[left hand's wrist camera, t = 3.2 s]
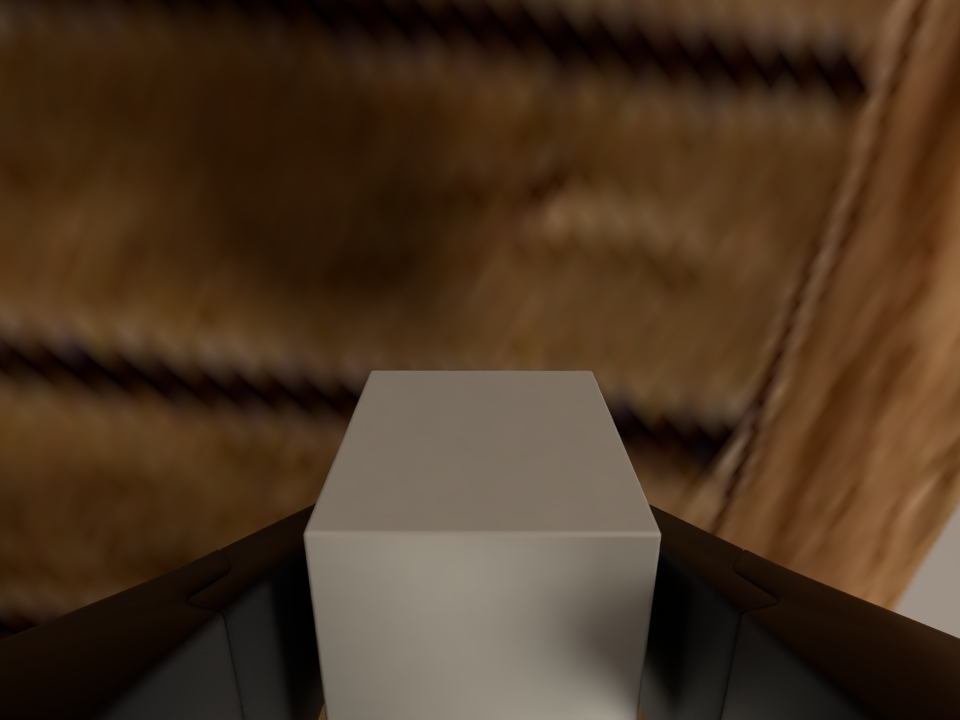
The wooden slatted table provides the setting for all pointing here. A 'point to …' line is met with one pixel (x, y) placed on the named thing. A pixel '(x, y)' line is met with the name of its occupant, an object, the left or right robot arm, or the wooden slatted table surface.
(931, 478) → the wooden slatted table surface
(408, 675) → the beige cube
